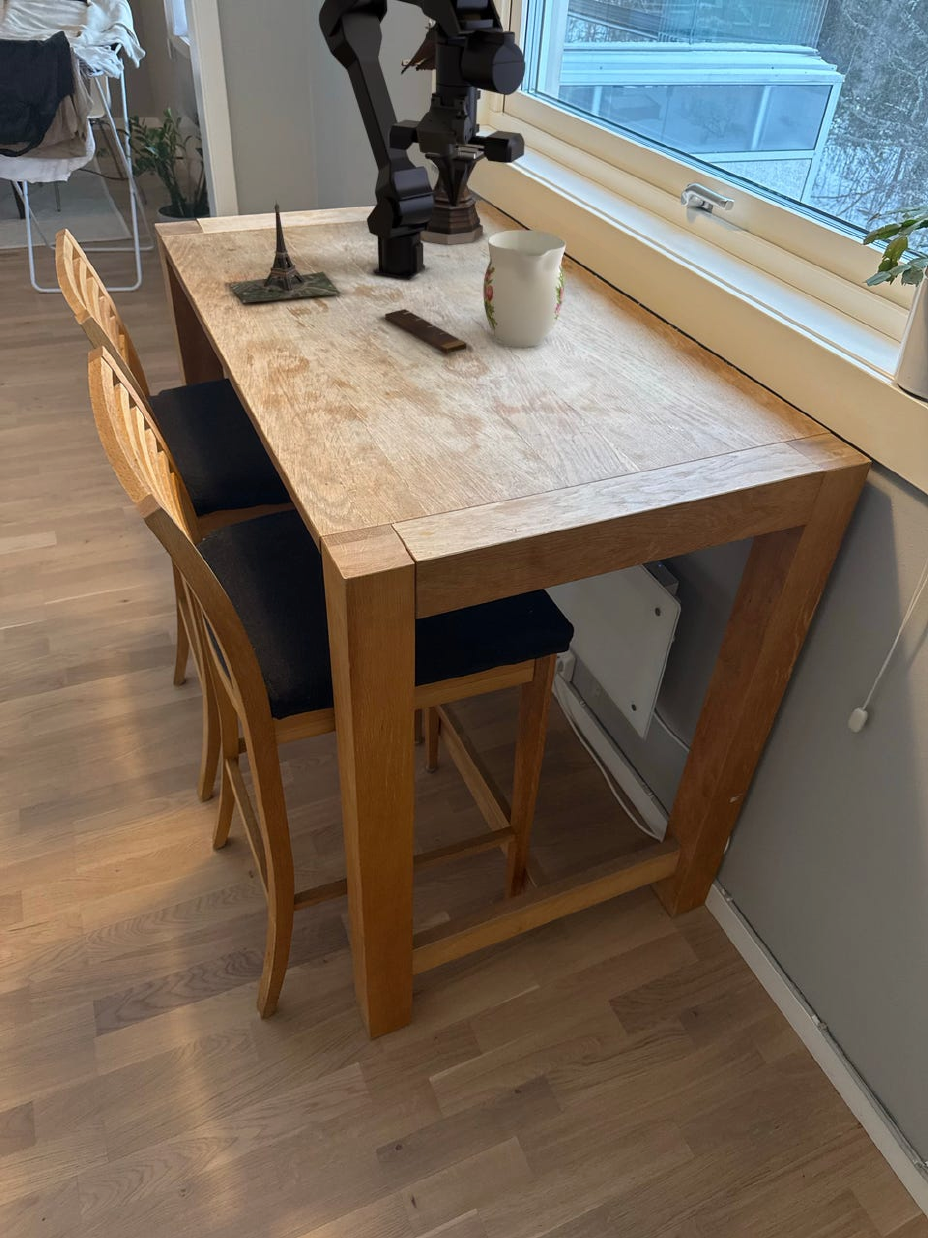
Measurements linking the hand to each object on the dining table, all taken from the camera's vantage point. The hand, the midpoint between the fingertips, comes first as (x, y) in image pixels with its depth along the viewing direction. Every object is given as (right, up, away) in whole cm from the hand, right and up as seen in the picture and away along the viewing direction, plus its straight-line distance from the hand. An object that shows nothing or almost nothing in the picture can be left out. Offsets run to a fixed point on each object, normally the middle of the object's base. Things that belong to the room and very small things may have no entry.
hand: (454, 206), depth 130 cm
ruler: (-4, -20, -4) cm, 20 cm away
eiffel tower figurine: (-26, -10, +8) cm, 29 cm away
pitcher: (+9, -20, -3) cm, 22 cm away
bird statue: (-3, +11, +34) cm, 35 cm away
